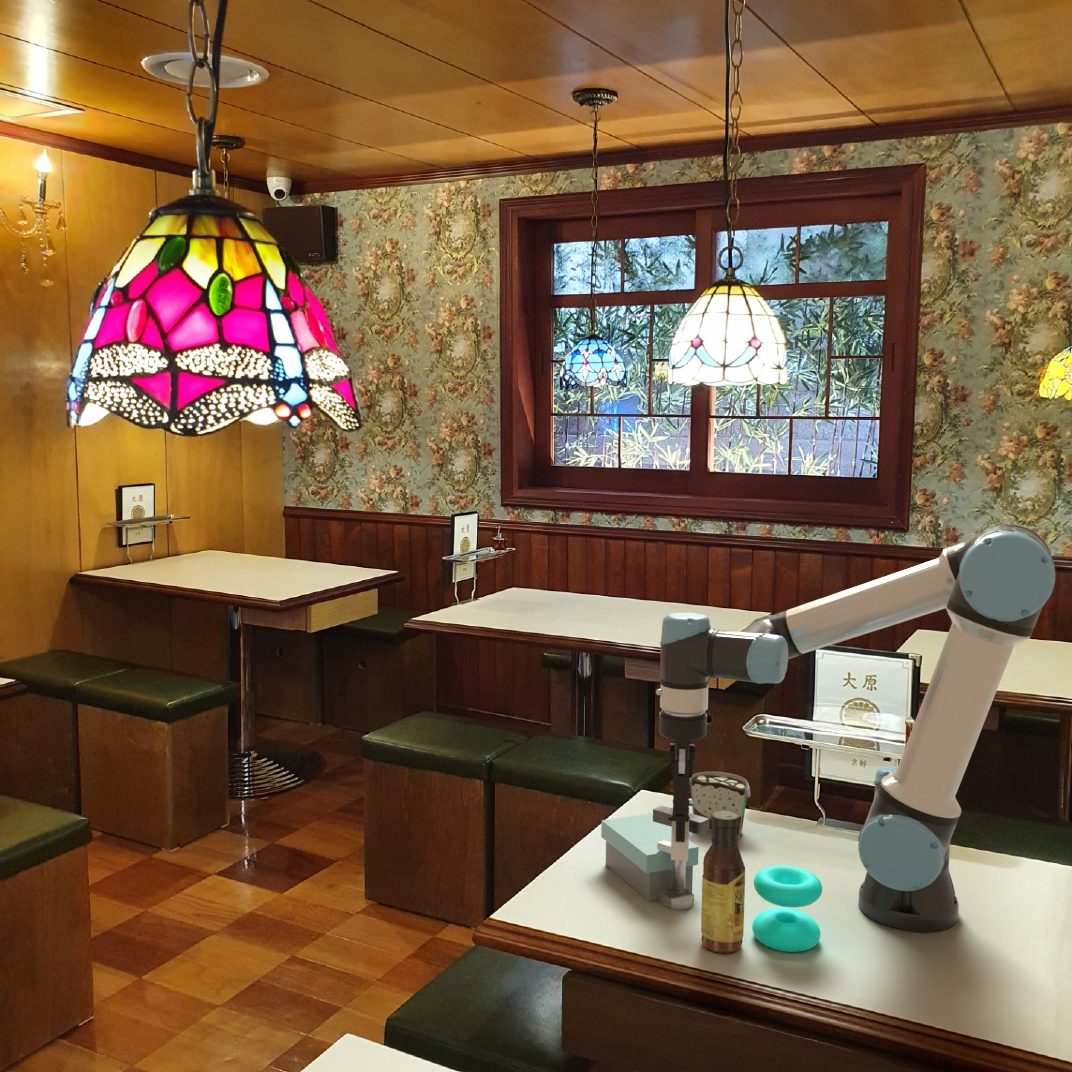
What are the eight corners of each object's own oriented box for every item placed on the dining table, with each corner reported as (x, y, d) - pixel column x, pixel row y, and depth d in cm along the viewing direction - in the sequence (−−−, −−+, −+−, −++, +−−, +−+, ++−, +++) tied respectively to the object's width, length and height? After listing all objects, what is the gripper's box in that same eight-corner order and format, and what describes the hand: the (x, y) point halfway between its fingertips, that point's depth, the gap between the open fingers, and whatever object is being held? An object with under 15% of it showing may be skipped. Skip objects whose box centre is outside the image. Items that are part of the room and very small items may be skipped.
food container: (759, 828, 209) (760, 778, 208) (747, 839, 204) (748, 787, 203) (699, 816, 216) (700, 766, 215) (686, 825, 211) (687, 775, 210)
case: (707, 905, 175) (707, 875, 175) (663, 913, 172) (664, 883, 172) (646, 858, 194) (646, 830, 194) (605, 864, 191) (606, 836, 191)
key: (707, 897, 174) (709, 818, 173) (698, 902, 172) (700, 822, 171) (659, 881, 180) (661, 805, 178) (651, 886, 178) (653, 809, 176)
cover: (698, 864, 179) (698, 847, 179) (646, 873, 176) (646, 855, 175) (649, 829, 195) (650, 813, 194) (601, 836, 191) (601, 820, 191)
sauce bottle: (742, 957, 158) (746, 825, 156) (699, 953, 160) (702, 821, 158) (743, 937, 165) (747, 809, 163) (701, 932, 166) (705, 806, 164)
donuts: (804, 860, 169) (834, 886, 159) (801, 921, 170) (832, 952, 160) (743, 865, 167) (771, 892, 157) (741, 927, 168) (768, 958, 158)
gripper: (661, 696, 182) (658, 831, 184) (657, 724, 165) (654, 873, 167) (706, 698, 181) (703, 833, 183) (707, 727, 163) (703, 876, 166)
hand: (679, 852), depth 175 cm, fingers closed on key, 5 cm apart
